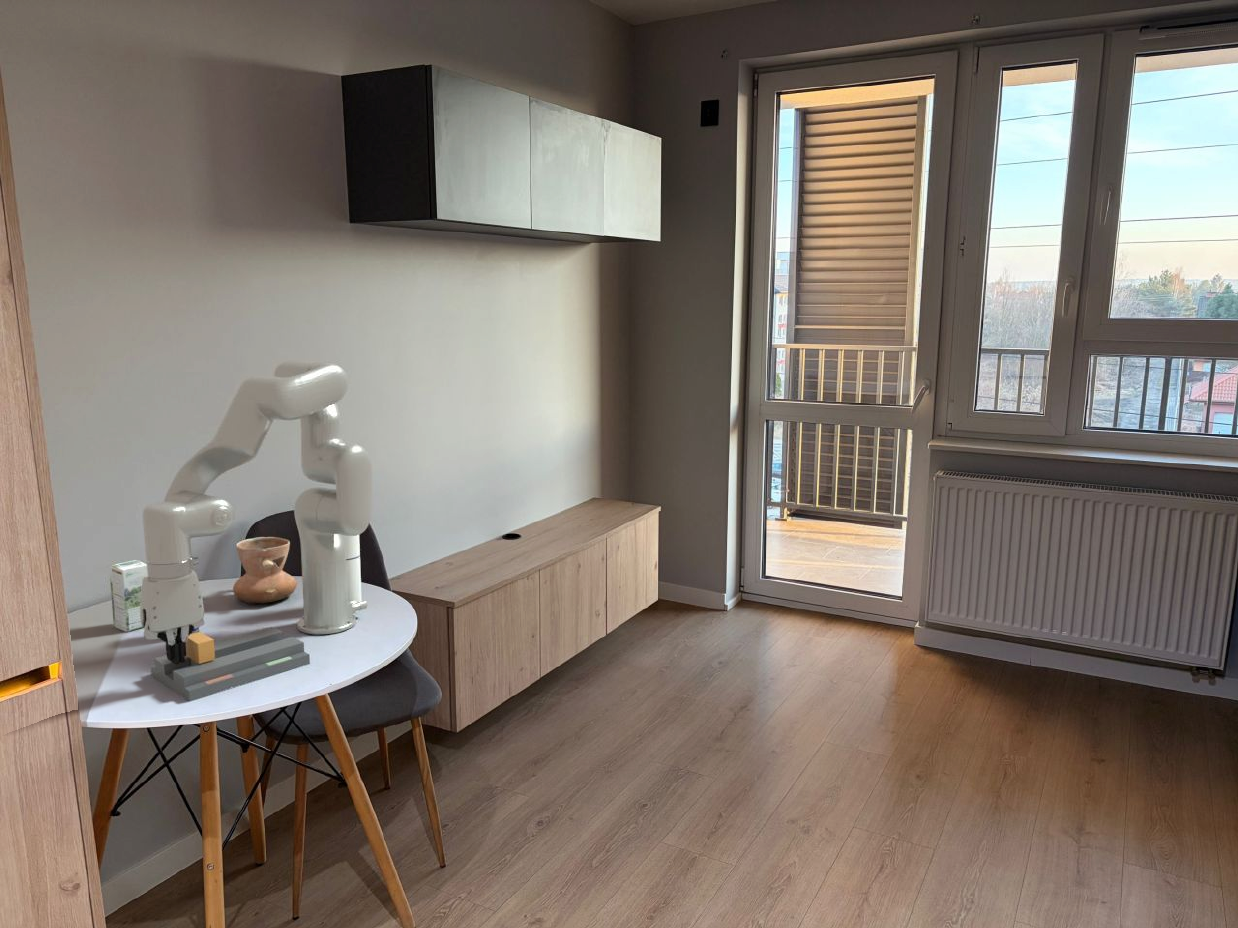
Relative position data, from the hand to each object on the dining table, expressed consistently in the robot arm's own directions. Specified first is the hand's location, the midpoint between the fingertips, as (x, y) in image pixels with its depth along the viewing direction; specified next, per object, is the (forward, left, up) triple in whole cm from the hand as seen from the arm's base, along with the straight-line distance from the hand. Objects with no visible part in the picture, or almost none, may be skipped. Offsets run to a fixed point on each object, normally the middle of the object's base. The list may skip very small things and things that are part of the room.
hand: (177, 661), depth 170 cm
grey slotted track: (-10, 0, -5) cm, 11 cm away
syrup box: (-6, -38, -5) cm, 39 cm away
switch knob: (-4, 0, -3) cm, 5 cm away
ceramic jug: (-36, -36, -5) cm, 52 cm away
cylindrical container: (-46, -16, -5) cm, 49 cm away
